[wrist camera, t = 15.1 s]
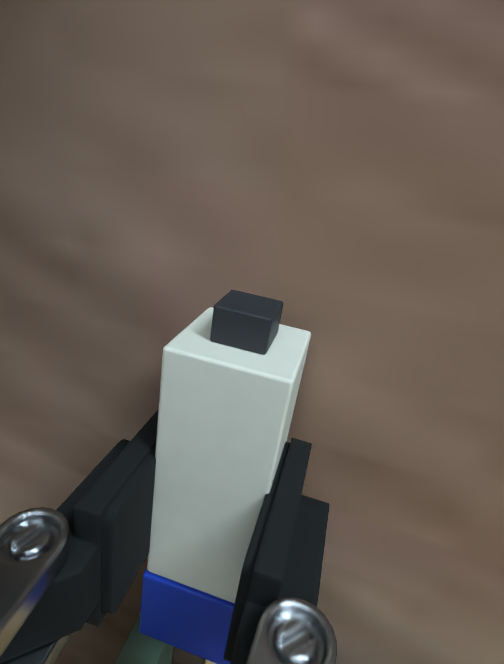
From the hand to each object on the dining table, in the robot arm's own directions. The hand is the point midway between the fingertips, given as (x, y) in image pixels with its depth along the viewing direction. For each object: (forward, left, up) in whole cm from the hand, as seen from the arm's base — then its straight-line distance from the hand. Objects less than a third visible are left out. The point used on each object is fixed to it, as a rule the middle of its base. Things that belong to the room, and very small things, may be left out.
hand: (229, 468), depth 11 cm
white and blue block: (0, 0, -1) cm, 1 cm away
